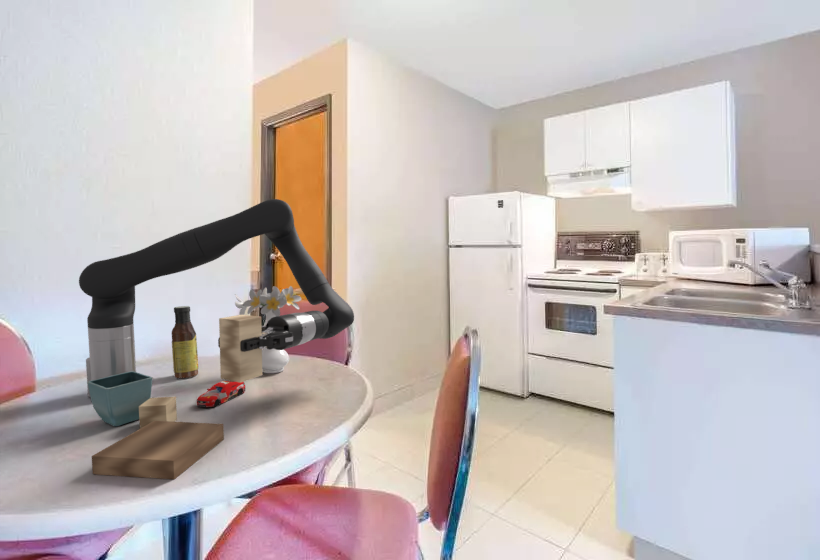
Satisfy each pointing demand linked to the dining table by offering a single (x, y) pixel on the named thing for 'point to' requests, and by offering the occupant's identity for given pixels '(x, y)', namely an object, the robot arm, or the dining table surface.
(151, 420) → the oak cube
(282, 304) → the flower vase
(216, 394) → the race car
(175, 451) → the walnut slab
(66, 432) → the dining table surface
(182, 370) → the sauce bottle
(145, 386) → the flower pot
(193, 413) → the dining table surface
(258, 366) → the oak pillar
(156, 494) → the dining table surface
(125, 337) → the robot arm
